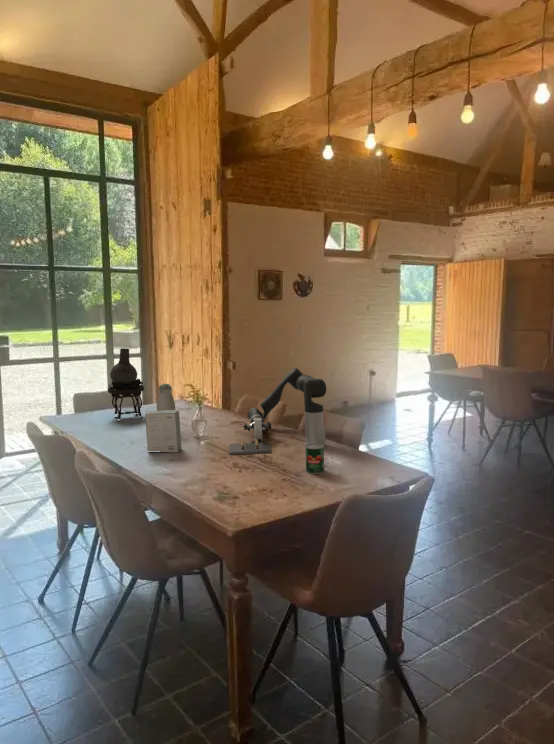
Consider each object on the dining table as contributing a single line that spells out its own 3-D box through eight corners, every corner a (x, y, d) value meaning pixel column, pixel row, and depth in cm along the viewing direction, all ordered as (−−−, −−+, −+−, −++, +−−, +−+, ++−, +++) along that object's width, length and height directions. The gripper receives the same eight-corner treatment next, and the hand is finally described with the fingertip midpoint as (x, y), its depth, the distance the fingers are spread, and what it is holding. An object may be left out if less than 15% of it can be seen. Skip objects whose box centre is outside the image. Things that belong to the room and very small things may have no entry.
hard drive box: (182, 449, 289) (179, 410, 286) (178, 453, 281) (175, 413, 279) (152, 449, 290) (149, 410, 288) (147, 453, 283) (144, 413, 280)
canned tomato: (309, 474, 240) (308, 449, 239) (303, 469, 248) (302, 444, 246) (327, 472, 242) (326, 447, 241) (320, 467, 250) (320, 442, 248)
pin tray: (229, 446, 291) (229, 438, 290) (269, 444, 292) (268, 436, 292) (229, 454, 275) (228, 446, 275) (270, 452, 276) (270, 444, 276)
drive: (254, 440, 301) (253, 418, 299) (262, 440, 301) (261, 417, 300) (254, 443, 294) (253, 420, 293) (262, 443, 295) (261, 420, 293)
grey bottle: (164, 435, 318) (161, 385, 315) (155, 432, 326) (152, 384, 322) (179, 432, 324) (176, 383, 321) (170, 429, 332) (168, 382, 329)
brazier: (111, 415, 379) (106, 347, 374) (146, 413, 383) (142, 346, 378) (108, 422, 358) (103, 350, 352) (145, 420, 361) (140, 349, 356)
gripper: (243, 416, 311) (243, 422, 295) (269, 415, 311) (271, 421, 295) (244, 429, 312) (244, 436, 296) (270, 428, 312) (272, 435, 296)
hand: (257, 429), depth 296 cm, fingers open, 8 cm apart
